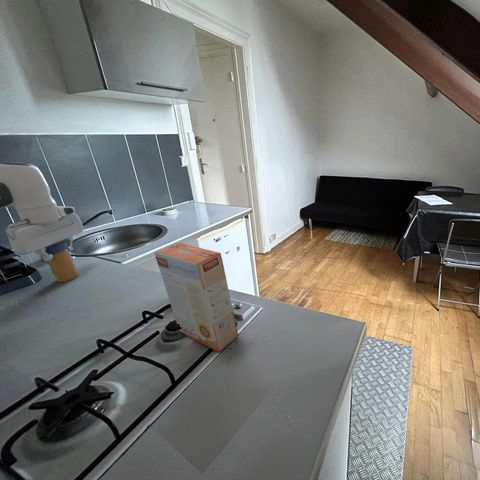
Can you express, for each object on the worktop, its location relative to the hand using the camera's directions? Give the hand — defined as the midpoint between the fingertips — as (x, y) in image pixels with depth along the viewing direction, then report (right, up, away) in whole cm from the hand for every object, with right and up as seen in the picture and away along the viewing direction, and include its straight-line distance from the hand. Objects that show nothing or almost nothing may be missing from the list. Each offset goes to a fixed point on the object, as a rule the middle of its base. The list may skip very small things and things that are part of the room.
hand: (59, 255), depth 86 cm
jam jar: (0, -8, +3) cm, 9 cm away
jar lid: (-1, +3, -1) cm, 4 cm away
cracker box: (+61, -17, -27) cm, 68 cm away
